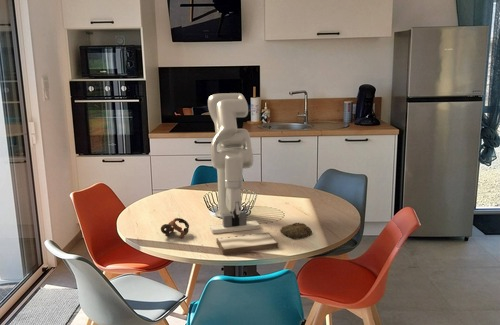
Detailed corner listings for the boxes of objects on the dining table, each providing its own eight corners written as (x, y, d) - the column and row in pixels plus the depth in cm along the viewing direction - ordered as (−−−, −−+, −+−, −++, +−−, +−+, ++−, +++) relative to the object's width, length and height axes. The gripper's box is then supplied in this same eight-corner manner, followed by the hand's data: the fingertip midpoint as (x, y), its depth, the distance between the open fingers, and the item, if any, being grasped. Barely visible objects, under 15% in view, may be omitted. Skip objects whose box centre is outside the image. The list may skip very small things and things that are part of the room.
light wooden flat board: (216, 243, 191) (216, 237, 190) (268, 237, 196) (268, 231, 196) (223, 254, 179) (223, 249, 179) (278, 248, 185) (278, 242, 185)
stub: (209, 228, 206) (209, 214, 205) (255, 223, 212) (255, 209, 210) (212, 233, 201) (211, 218, 199) (259, 228, 206) (259, 214, 205)
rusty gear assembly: (177, 230, 207) (185, 216, 203) (186, 245, 201) (195, 230, 198) (153, 230, 198) (161, 215, 195) (162, 246, 192) (170, 230, 189)
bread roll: (292, 241, 192) (292, 230, 191) (276, 232, 203) (276, 221, 202) (318, 235, 198) (318, 224, 197) (301, 226, 209) (301, 216, 208)
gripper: (221, 179, 208) (221, 219, 212) (230, 189, 193) (230, 231, 197) (237, 178, 210) (238, 217, 214) (247, 187, 195) (248, 230, 199)
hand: (234, 224), depth 206 cm, fingers closed on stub, 3 cm apart
